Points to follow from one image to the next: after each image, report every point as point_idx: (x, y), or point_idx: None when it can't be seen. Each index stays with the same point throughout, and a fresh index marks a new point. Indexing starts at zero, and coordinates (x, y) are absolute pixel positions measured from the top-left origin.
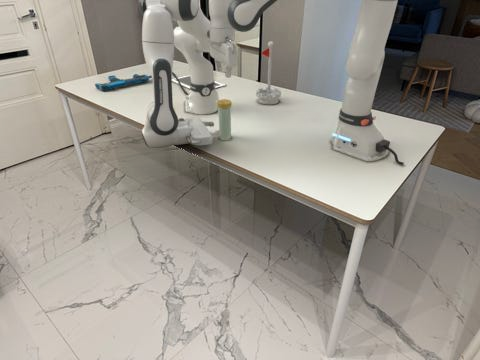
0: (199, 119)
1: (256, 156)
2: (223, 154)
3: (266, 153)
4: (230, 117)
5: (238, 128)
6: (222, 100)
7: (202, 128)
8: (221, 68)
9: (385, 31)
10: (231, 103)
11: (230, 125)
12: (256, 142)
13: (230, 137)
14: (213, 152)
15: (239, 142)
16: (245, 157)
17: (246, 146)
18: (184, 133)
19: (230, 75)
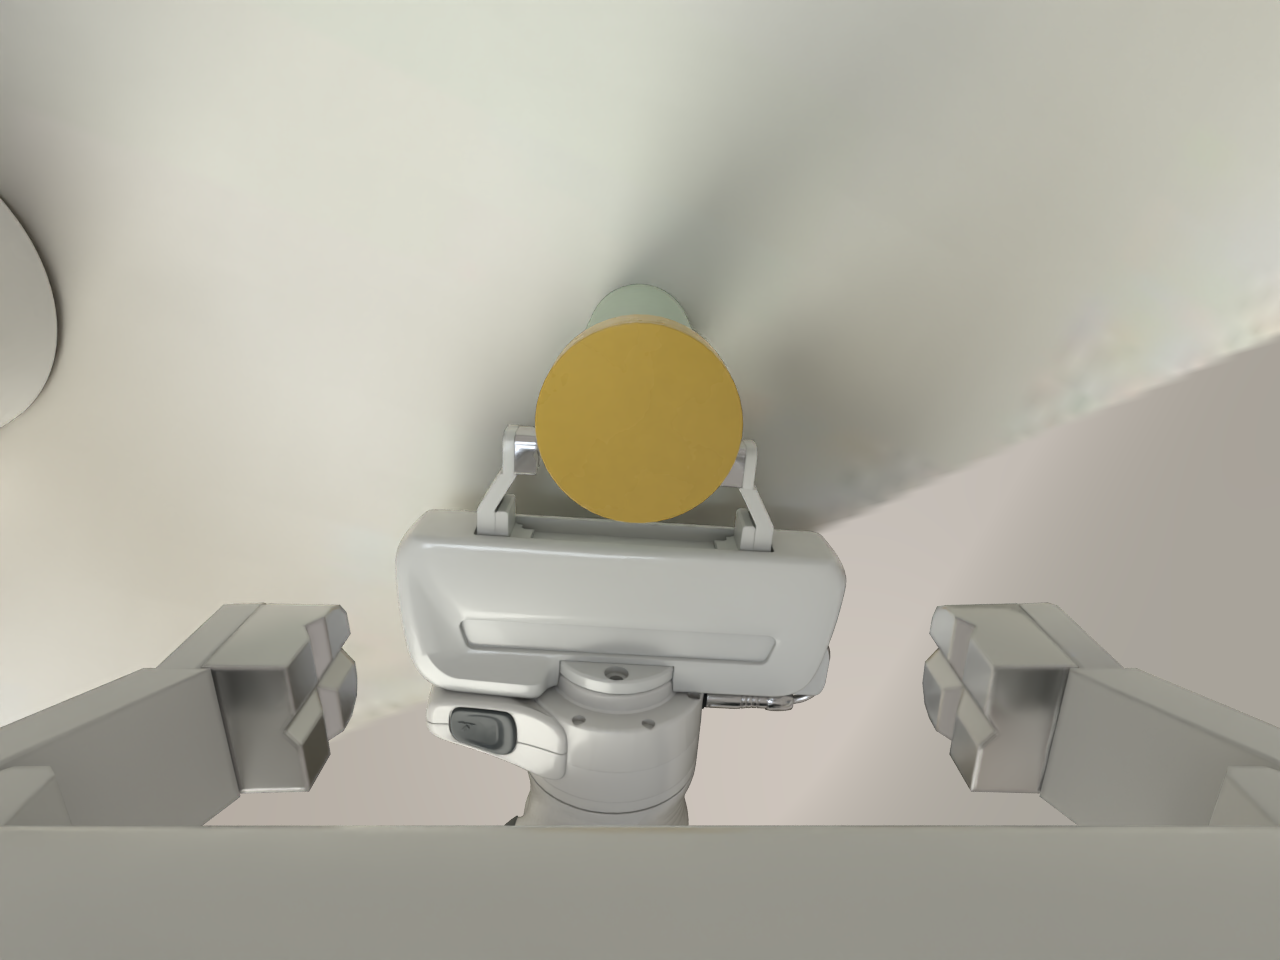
0: (462, 558)
1: (1071, 225)
2: (897, 453)
3: (1079, 113)
4: (679, 322)
5: (489, 131)
6: (576, 430)
7: (670, 591)
8: (307, 637)
9: None
10: (689, 332)
11: (679, 313)
12: (849, 98)
13: (677, 302)
14: (831, 508)
15: (774, 253)
16: (1032, 317)
17: (872, 226)
18: (695, 735)
19: (1068, 634)
